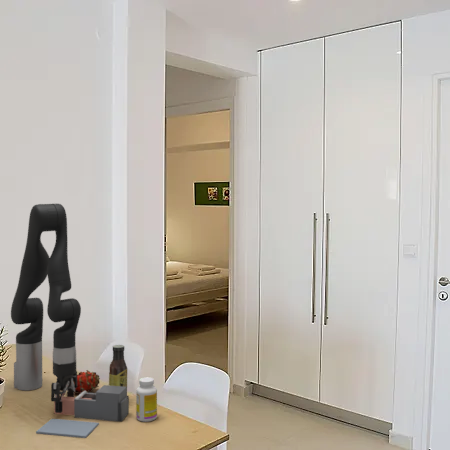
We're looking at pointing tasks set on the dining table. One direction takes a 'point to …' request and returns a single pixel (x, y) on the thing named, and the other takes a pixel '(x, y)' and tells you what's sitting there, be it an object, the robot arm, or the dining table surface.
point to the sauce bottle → (118, 367)
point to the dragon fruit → (86, 381)
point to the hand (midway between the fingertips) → (64, 407)
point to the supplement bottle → (146, 400)
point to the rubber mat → (67, 428)
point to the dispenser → (103, 404)
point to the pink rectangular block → (67, 405)
